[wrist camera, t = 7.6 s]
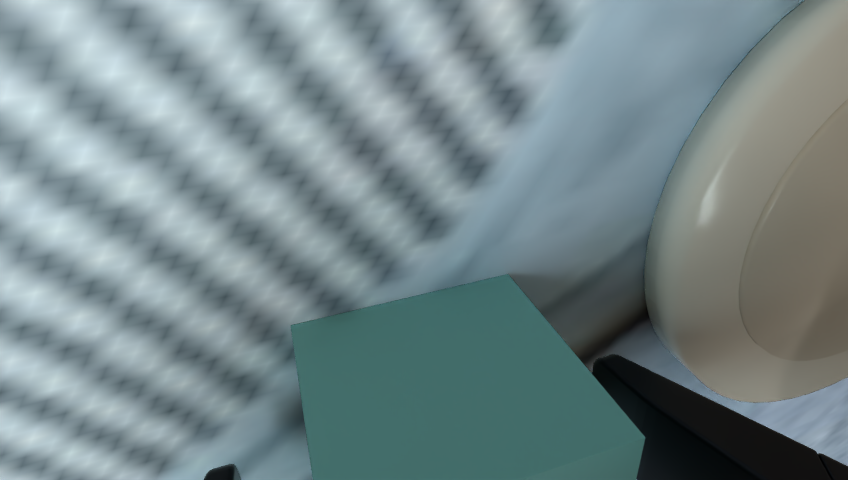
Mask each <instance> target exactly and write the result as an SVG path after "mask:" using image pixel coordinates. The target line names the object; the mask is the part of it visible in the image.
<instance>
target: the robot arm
mask: <svg viewBox="0 0 848 480" xmlns="http://www.w3.org/2000/svg"><path fill="white" fill-rule="evenodd" d="M592 375H593V376H594V377H595V378H596V379H597V381H598V382H599V383H600V384H601V385H602V387H603V388H604V389H605V390H606V391H607V392H608V394H609V395H610V396H611V397H612V398H613V400H614V401H615V402H616V403H617V404H618V406H619V407H620V408H621V409H622V410H623V411H624V413H625V414H626V415H627V416H628V417H629V419H630V420H631V421H632V422H633V423H634V425H635V426H636V427H637V428H638V429H639V431H640V432H641V433H642V434H643V435H644V436H645V442H644V446H643V451H642V455H641V460H640V464H639V469H638V473H637V478H636V479H637V480H848V466H846V465H844V464H842V463H840V462H838V461H836V460H834V459H832V458H830V457H828V456H826V455H824V454H821V453H819V454H817V452H816V451H815V450H813V449H811V448H809V447H807V446H805V445H803V444H801V443H798V442H796V441H794V440H792V439H790V438H788V437H786V436H784V435H782V434H780V433H778V432H776V431H774V430H772V429H770V428H768V427H765V426H763V425H761V424H759V423H757V422H755V421H753V420H751V419H749V418H747V417H745V416H743V415H741V414H739V413H737V412H735V411H733V410H730V409H728V408H726V407H724V406H722V405H720V404H718V403H716V402H714V401H712V400H710V399H708V398H706V397H704V396H702V395H700V394H697V393H695V392H693V391H691V390H689V389H687V388H685V387H683V386H681V385H679V384H677V383H675V382H673V381H671V380H669V379H667V378H664V377H662V376H660V375H658V374H656V373H654V372H652V371H650V370H648V369H646V368H644V367H642V366H640V365H638V364H636V363H634V362H632V361H629V360H627V359H625V358H623V357H621V356H619V355H615V354H612V355H608V356H604V357H601V358H598V359H596V361H595V362H594V365H593V372H592ZM204 480H241V477H240V474H239V471H238V469H237V467H236V466H235V465H234V464H228V465H225V466H221V467H218V468H215V469H212V470H210V471H209V472H208V473H207V474H206V476H205V478H204Z"/></svg>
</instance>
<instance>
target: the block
mask: <svg viewBox="0 0 848 480" xmlns="http://www.w3.org/2000/svg"><path fill="white" fill-rule="evenodd" d="M291 332H292V339H293V346H294V353H295V359H296V366H297V373H298V380H299V387H300V394H301V401H302V408H303V415H304V421H305V428H306V435H307V442H308V449H309V456H310V463H311V470H312V477H313V480H636V478H637V473H638V469H639V464H640V460H641V455H642V451H643V446H644V442H645V436H644V435H643V434H642V433H641V432H640V431H639V429H638V428H637V427H636V426H635V425H634V423H633V422H632V421H631V420H630V419H629V417H628V416H627V415H626V414H625V413H624V411H623V410H622V409H621V408H620V407H619V406H618V404H617V403H616V402H615V401H614V400H613V398H612V397H611V396H610V395H609V394H608V392H607V391H606V390H605V389H604V388H603V387H602V385H601V384H600V383H599V382H598V381H597V379H596V378H595V377H594V376H593V375H592V373H591V372H590V371H589V370H588V369H587V368H586V366H585V365H584V364H583V363H582V362H581V360H580V359H579V358H578V357H577V356H576V354H575V353H574V352H573V351H572V350H571V348H570V347H569V346H568V345H567V344H566V343H565V341H564V340H563V339H562V338H561V337H560V335H559V334H558V333H557V332H556V331H555V329H554V328H553V327H552V326H551V325H550V324H549V322H548V321H547V320H546V319H545V318H544V316H543V315H542V314H541V313H540V312H539V310H538V309H537V308H536V307H535V306H534V305H533V303H532V302H531V301H530V300H529V299H528V297H527V296H526V295H525V294H524V293H523V291H522V290H521V289H520V288H519V287H518V285H517V284H516V283H515V282H514V281H513V280H512V278H511V277H510V276H509V275H508V274H506V275H502V276H498V277H493V278H489V279H485V280H481V281H476V282H472V283H468V284H464V285H459V286H455V287H451V288H447V289H443V290H438V291H434V292H430V293H426V294H421V295H417V296H413V297H409V298H404V299H400V300H396V301H392V302H388V303H383V304H379V305H375V306H371V307H366V308H362V309H358V310H354V311H349V312H345V313H341V314H337V315H333V316H328V317H324V318H320V319H316V320H311V321H307V322H303V323H299V324H294V325H291Z"/></svg>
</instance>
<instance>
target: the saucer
mask: <svg viewBox="0 0 848 480" xmlns="http://www.w3.org/2000/svg"><path fill="white" fill-rule="evenodd" d="M644 284H645V299H646V304H647V309H648V315H649V318H650V320H651V323H652V325H653V328H654V331H655V333H656V335H657V336H658V338H659V339H660V341H661V342H662V344H663V345H664V347H665V348H666V349H667V350H668V351H669V352H670V353H671V354H672V355H673V356H674V357H675V358H676V359H677V360H679V361H680V362H681V363H682V364H683V365H684V366H685V367H686V368H687V369H688V370H689V371H690V372H692V373H693V374H694V375H695V376H696V377H697V378H698V379H699V380H700V381H701V382H702V383H703V384H704V385H706V386H707V387H708V388H709V389H711V390H713V391H714V392H716V393H718V394H720V395H721V396H724V397H727V398H730V399H733V400H737V401H744V402H753V403H758V402H775V401H780V400H786V399H792V398H795V397H799V396H802V395H806V394H809V393H812V392H815V391H817V390H820V389H822V388H825V387H827V386H830V385H832V384H834V383H836V382H839V381H841V380H843V379H845V378H847V377H848V0H805V1H803V2H802V3H801V4H800V5H799V6H797V7H796V8H795V9H794V10H792V11H791V12H790V13H789V14H788V15H786V16H785V17H784V18H783V19H782V20H781V21H780V22H779V23H778V24H777V25H776V26H775V27H774V28H773V29H772V30H771V31H770V32H769V33H768V34H767V35H766V36H765V37H764V38H763V39H762V40H761V41H760V42H759V43H758V44H757V45H756V46H755V47H754V48H753V49H752V50H751V51H750V52H749V54H748V55H747V56H746V57H745V58H744V59H743V61H742V62H741V63H740V64H739V65H738V67H737V68H736V69H735V70H734V71H733V73H732V74H731V75H730V76H729V77H728V78H727V80H726V81H725V82H724V84H723V85H722V86H721V88H720V89H719V91H718V92H717V94H716V95H715V96H714V98H713V99H712V101H711V102H710V103H709V105H708V106H707V108H706V109H705V111H704V112H703V113H702V115H701V117H700V118H699V120H698V122H697V123H696V125H695V127H694V128H693V130H692V132H691V134H690V135H689V137H688V139H687V140H686V142H685V144H684V146H683V147H682V149H681V151H680V153H679V155H678V158H677V160H676V162H675V164H674V166H673V168H672V170H671V172H670V175H669V177H668V179H667V181H666V183H665V186H664V189H663V192H662V195H661V197H660V200H659V203H658V206H657V208H656V211H655V214H654V218H653V222H652V227H651V231H650V235H649V239H648V243H647V251H646V260H645V268H644Z"/></svg>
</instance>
